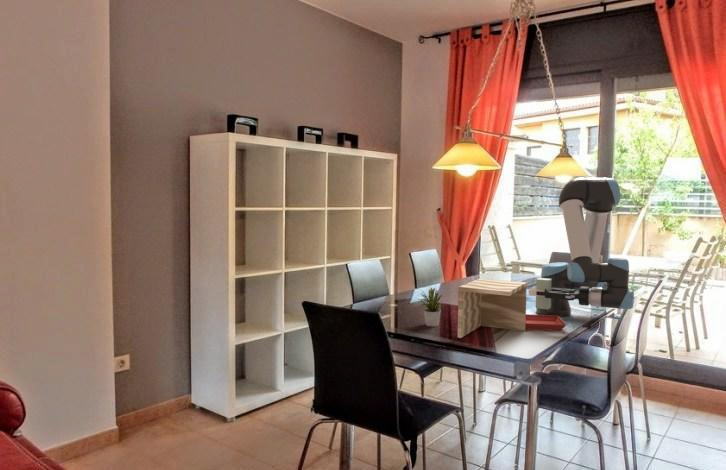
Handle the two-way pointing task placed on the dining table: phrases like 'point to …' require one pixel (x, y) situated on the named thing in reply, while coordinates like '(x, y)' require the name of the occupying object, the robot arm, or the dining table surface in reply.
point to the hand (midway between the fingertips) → (530, 291)
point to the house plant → (432, 308)
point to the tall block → (542, 285)
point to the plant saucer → (544, 322)
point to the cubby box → (491, 305)
